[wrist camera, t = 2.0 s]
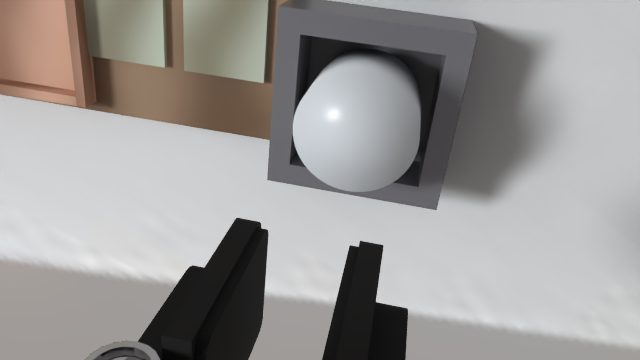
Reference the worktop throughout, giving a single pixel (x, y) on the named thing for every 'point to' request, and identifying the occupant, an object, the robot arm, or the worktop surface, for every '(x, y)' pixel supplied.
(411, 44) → the housing
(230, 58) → the board
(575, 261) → the worktop surface
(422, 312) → the worktop surface
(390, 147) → the dome
